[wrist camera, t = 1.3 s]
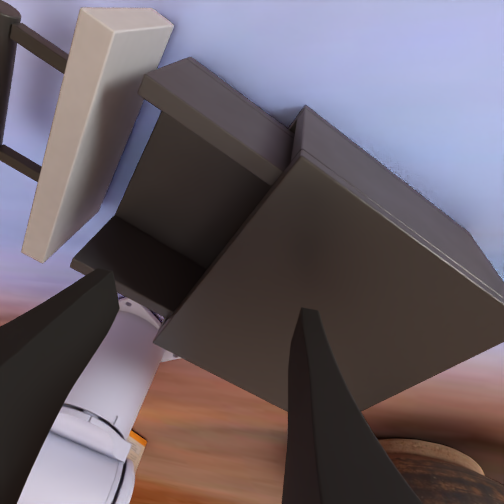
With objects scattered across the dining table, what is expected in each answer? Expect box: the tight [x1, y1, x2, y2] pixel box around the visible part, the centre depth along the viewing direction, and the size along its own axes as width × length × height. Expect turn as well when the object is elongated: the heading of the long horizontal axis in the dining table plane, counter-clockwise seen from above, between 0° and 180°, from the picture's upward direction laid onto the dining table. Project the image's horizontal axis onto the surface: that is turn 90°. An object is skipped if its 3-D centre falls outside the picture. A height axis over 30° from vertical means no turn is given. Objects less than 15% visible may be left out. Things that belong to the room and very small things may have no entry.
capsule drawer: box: [0, 0, 295, 319], centre depth 17 cm, size 16×12×6 cm
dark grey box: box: [153, 105, 504, 412], centre depth 19 cm, size 12×13×7 cm
